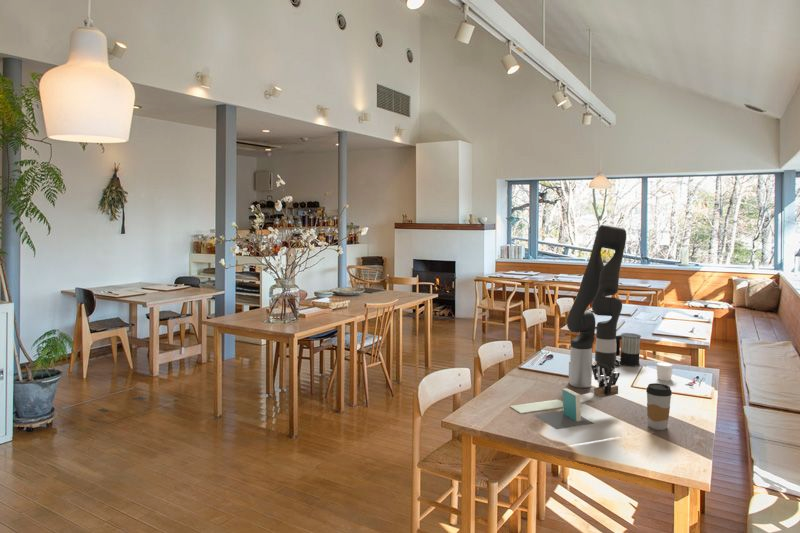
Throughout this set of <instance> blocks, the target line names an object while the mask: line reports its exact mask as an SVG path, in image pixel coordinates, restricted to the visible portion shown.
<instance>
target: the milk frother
mask: <svg viewBox="0 0 800 533" xmlns="http://www.w3.org/2000/svg"><path fill="white" fill-rule="evenodd" d="M641 337H642V336H641V335H640V334H638V333H633V332H632V333H631V332H630V333H629V332H625V333H621V334H619V335H616V344H617V346H616V357H617V356H620V359H619V360H618V359H616V362H615V363H614V367H620V365H623V366H627V367H639V366H640V349H641V347H640V346H641ZM620 343H621V344H620ZM620 346H621V347H620Z"/></svg>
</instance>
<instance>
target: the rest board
mask: <svg viewBox="0 0 800 533" xmlns="http://www.w3.org/2000/svg"><path fill="white" fill-rule="evenodd" d="M509 408H510V409H512V410H514V411H516V412H517V413H519V414H520V415H523V414H530V413H536V412H538V413H539V412H544V411H549V410H558V409H563V400H560V399H552V400H544V401H536V402H530V403H529V402H528V403H522V404H514V405H510V406H509Z"/></svg>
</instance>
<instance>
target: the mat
mask: <svg viewBox="0 0 800 533" xmlns="http://www.w3.org/2000/svg"><path fill="white" fill-rule="evenodd" d="M533 415H534V416H535V417H536V418H538V419H539V420H540V421H541V422H542V421H543V422H544V423H546V424H547V425H549V426H550V427H552V428H554V429H555V430H563V429H566V428H574V427H580V426H581V427H582V426H587V425H591V424H594V422H592V421H591V420H589V419H587V418H585V417H583V416H582V415H581V421H575V420H573V419H571V418H570V417H568V416H566V415H564V411H563V410H557V411H550V412H542V413H536V414H533Z"/></svg>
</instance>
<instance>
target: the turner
mask: <svg viewBox="0 0 800 533" xmlns="http://www.w3.org/2000/svg"><path fill="white" fill-rule="evenodd" d="M604 388H605V386H602V387H599V386H597V387H594V388H593V392H588V393H583V394H580V406H581V405H585V404H590V403H591V404H592V403H595V402H599V401H602V399H603V398H607V397H611V396H615V395H618V394H619V385H617V384H615V385H613V386H611V394H610V395H608V396H606V395H604V392H605V389H604Z"/></svg>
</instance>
